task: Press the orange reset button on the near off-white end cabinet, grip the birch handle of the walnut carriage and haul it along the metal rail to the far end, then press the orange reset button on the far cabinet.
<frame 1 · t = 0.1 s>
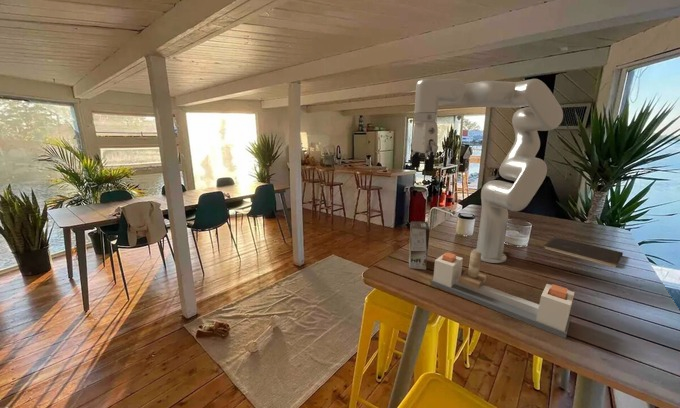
hand: (421, 169, 98), 37 cm above the table, tool pointing down, fingers open, 9 cm apart
carriage: (474, 267, 86), point 9 cm above the table, slide at -6.5 cm
coffee box: (417, 264, 108), on the table
gauge button a: (449, 259, 91), point 9 cm above the table, slide at 0.0 cm
rail base: (492, 300, 84), on the table
hardcover book: (581, 253, 117), on the table
gauge button b: (557, 294, 72), point 9 cm above the table, slide at 0.0 cm
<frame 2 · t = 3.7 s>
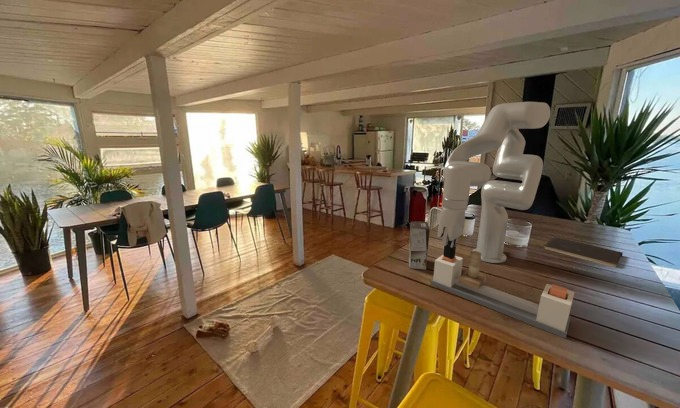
hand: (448, 256, 91), 10 cm above the table, tool pointing down, fingers closed
gauge button a: (448, 261, 92), point 8 cm above the table, slide at 0.7 cm, touching gripper
everything else where it was.
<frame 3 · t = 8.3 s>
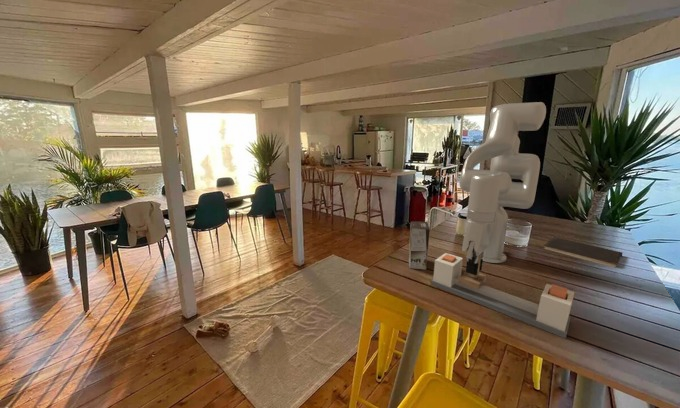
hand: (473, 270, 86), 8 cm above the table, tool pointing down, fingers closed on carriage, 3 cm apart
carriage: (474, 267, 86), point 9 cm above the table, slide at -6.5 cm, touching gripper
gauge button a: (448, 262, 92), point 8 cm above the table, slide at 0.8 cm
everything else where it was.
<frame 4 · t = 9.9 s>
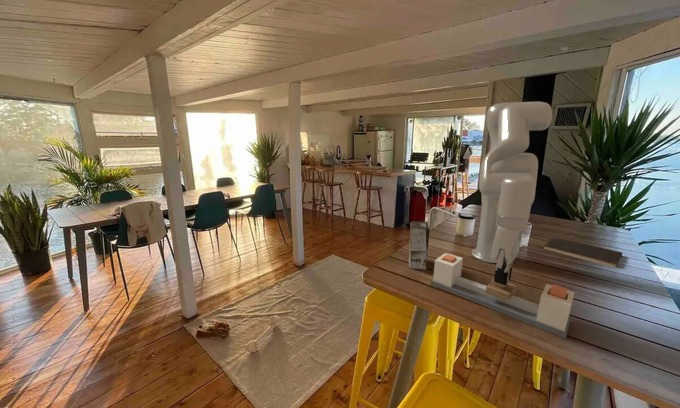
hand: (502, 280, 81), 8 cm above the table, tool pointing down, fingers closed on carriage, 3 cm apart
carriage: (502, 276, 81), point 9 cm above the table, slide at 1.6 cm, touching gripper
everything else where it was.
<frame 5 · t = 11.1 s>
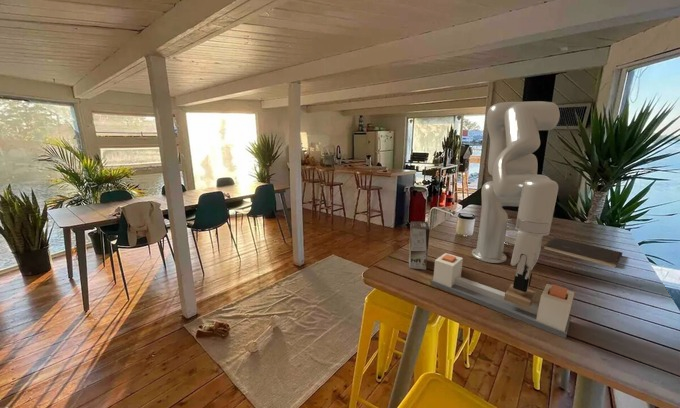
hand: (521, 286, 78), 8 cm above the table, tool pointing down, fingers closed on carriage, 3 cm apart
carriage: (522, 283, 77), point 9 cm above the table, slide at 6.5 cm, touching gripper
everything else where it was.
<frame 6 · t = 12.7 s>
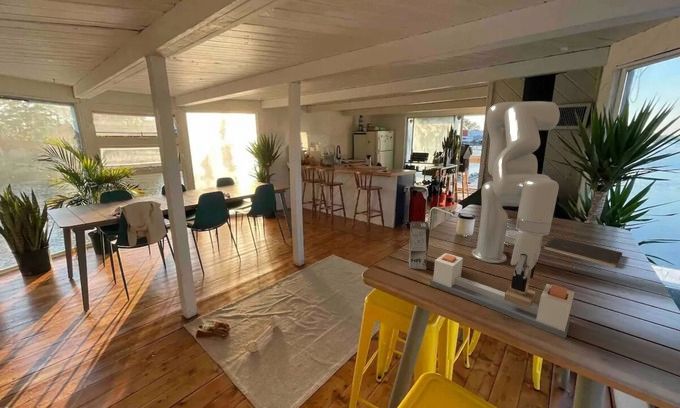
hand: (522, 282, 77), 9 cm above the table, tool pointing down, fingers open, 9 cm apart
carriage: (522, 283, 77), point 9 cm above the table, slide at 6.5 cm
everything else where it was.
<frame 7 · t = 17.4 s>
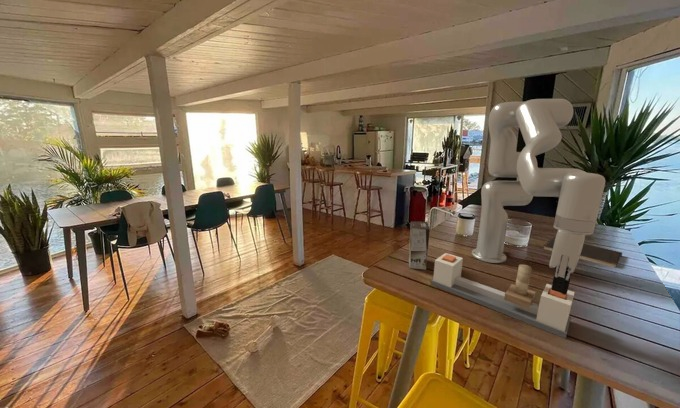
hand: (559, 290, 71), 10 cm above the table, tool pointing down, fingers closed
gauge button b: (557, 296, 72), point 8 cm above the table, slide at 0.5 cm, touching gripper
everything else where it was.
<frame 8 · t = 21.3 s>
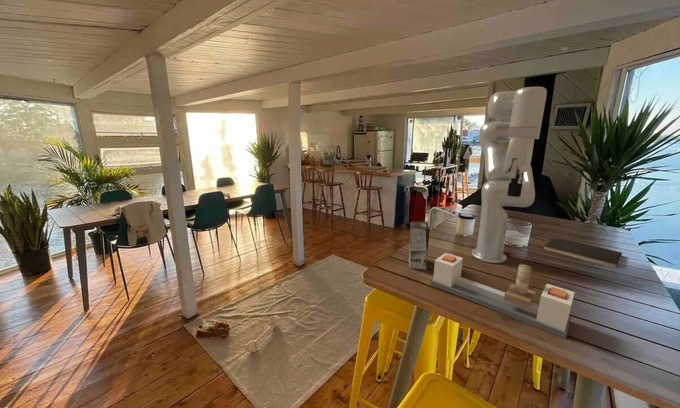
hand: (513, 195, 83), 31 cm above the table, tool pointing down, fingers closed
gauge button b: (557, 297, 72), point 8 cm above the table, slide at 0.8 cm
everything else where it was.
at the end: carriage slide at 6.5 cm; gauge button a slide at 0.8 cm; gauge button b slide at 0.8 cm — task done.
